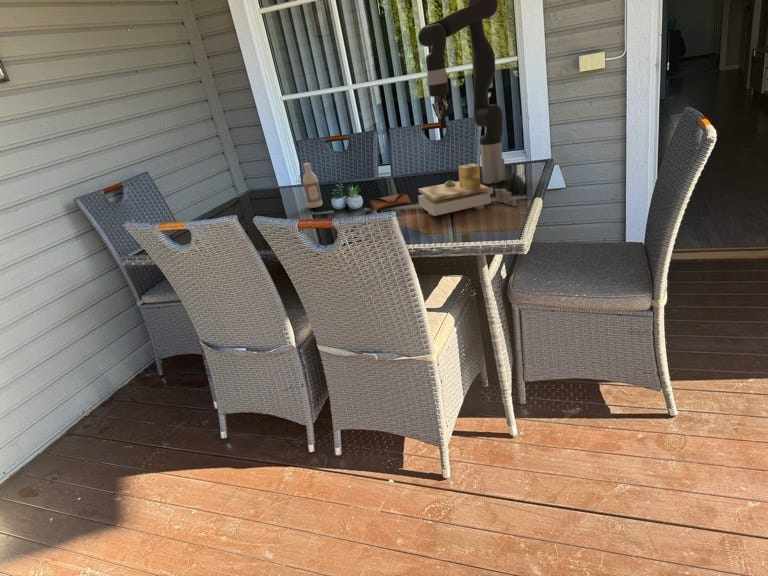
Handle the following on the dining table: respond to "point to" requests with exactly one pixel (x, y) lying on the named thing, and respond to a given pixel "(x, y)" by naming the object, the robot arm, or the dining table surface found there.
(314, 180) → the tan bottle
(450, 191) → the instrument plate
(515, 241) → the dining table surface
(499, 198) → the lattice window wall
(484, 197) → the base
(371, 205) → the sunglasses case
